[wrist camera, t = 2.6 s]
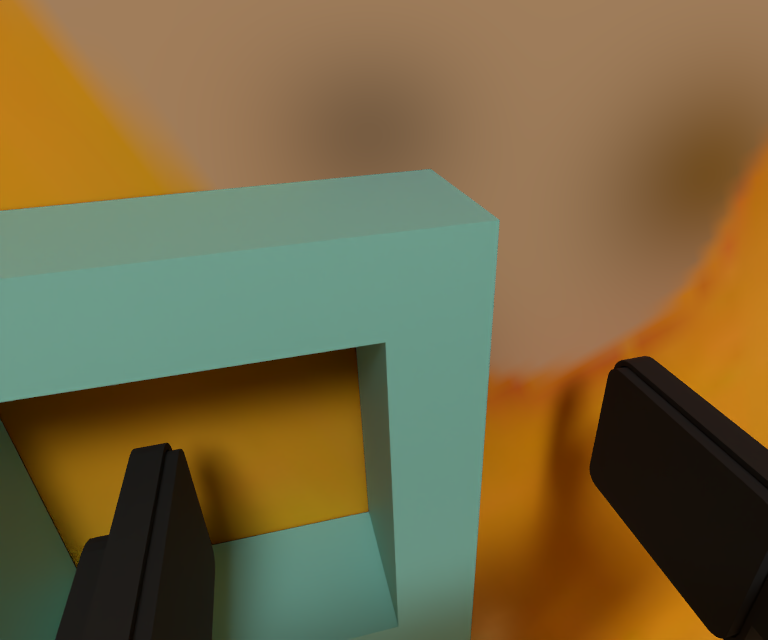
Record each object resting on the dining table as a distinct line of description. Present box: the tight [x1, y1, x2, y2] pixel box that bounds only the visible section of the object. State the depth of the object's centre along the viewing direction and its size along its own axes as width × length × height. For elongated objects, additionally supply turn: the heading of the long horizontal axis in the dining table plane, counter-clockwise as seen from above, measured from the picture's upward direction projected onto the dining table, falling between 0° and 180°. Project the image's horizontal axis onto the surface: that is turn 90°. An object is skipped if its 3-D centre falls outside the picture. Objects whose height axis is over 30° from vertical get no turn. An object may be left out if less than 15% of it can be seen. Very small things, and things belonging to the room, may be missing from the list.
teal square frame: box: [0, 169, 499, 640], centre depth 10 cm, size 10×10×3 cm
